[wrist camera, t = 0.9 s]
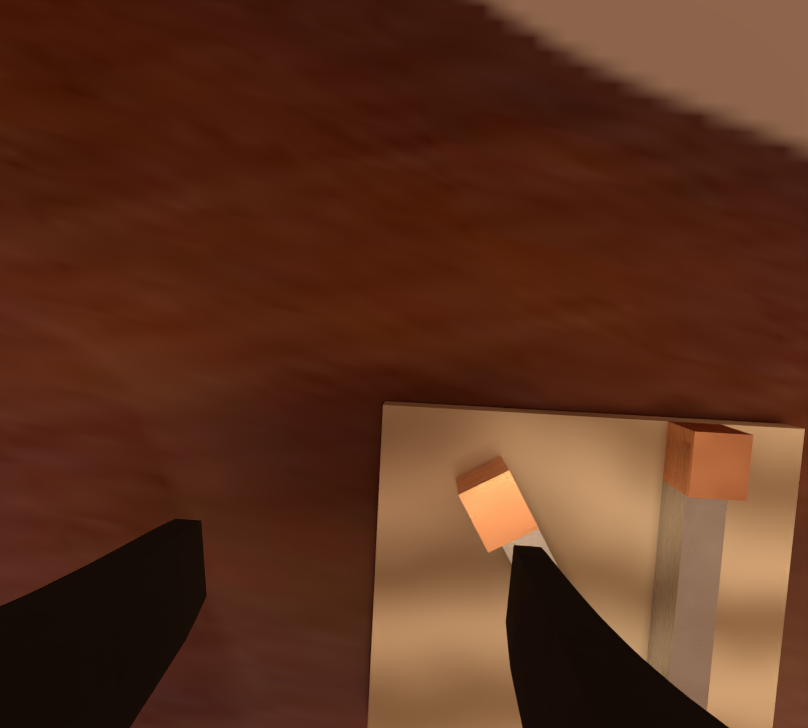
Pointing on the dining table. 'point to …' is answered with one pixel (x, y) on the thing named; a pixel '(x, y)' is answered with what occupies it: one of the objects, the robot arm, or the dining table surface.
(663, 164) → the dining table surface
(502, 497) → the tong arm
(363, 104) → the dining table surface
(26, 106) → the dining table surface
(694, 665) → the tongs fixed
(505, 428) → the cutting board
